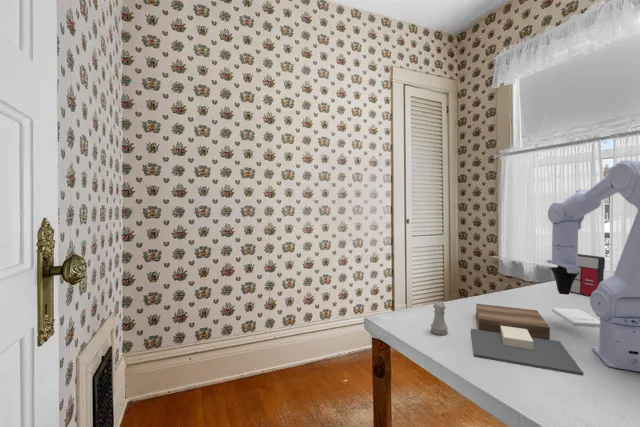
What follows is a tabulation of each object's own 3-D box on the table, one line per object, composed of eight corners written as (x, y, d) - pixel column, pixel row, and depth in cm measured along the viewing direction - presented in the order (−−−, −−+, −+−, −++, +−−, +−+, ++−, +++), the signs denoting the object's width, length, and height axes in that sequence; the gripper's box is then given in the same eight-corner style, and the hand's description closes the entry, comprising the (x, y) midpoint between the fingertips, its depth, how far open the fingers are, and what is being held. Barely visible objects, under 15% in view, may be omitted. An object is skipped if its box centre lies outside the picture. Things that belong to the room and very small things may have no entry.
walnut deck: (549, 341, 80) (549, 327, 80) (479, 331, 86) (479, 318, 86) (536, 322, 93) (537, 310, 93) (476, 314, 99) (476, 303, 99)
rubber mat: (583, 375, 64) (583, 372, 64) (473, 356, 72) (473, 354, 72) (559, 343, 79) (559, 341, 79) (471, 330, 87) (471, 328, 87)
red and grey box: (564, 291, 125) (564, 253, 125) (570, 290, 127) (571, 253, 126) (597, 298, 115) (598, 258, 115) (604, 297, 117) (605, 257, 116)
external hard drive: (580, 314, 101) (607, 329, 89) (551, 312, 102) (574, 327, 90) (580, 309, 101) (607, 324, 88) (551, 307, 102) (574, 321, 90)
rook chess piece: (437, 336, 83) (437, 306, 83) (427, 329, 87) (427, 301, 87) (451, 334, 84) (451, 304, 84) (440, 328, 88) (441, 300, 88)
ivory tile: (533, 349, 74) (533, 341, 74) (503, 345, 77) (503, 337, 76) (526, 336, 81) (527, 329, 81) (500, 332, 84) (500, 325, 84)
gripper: (541, 242, 97) (540, 286, 97) (554, 248, 84) (553, 299, 84) (569, 243, 94) (568, 288, 94) (588, 249, 81) (586, 302, 81)
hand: (563, 293), depth 89 cm, fingers closed
